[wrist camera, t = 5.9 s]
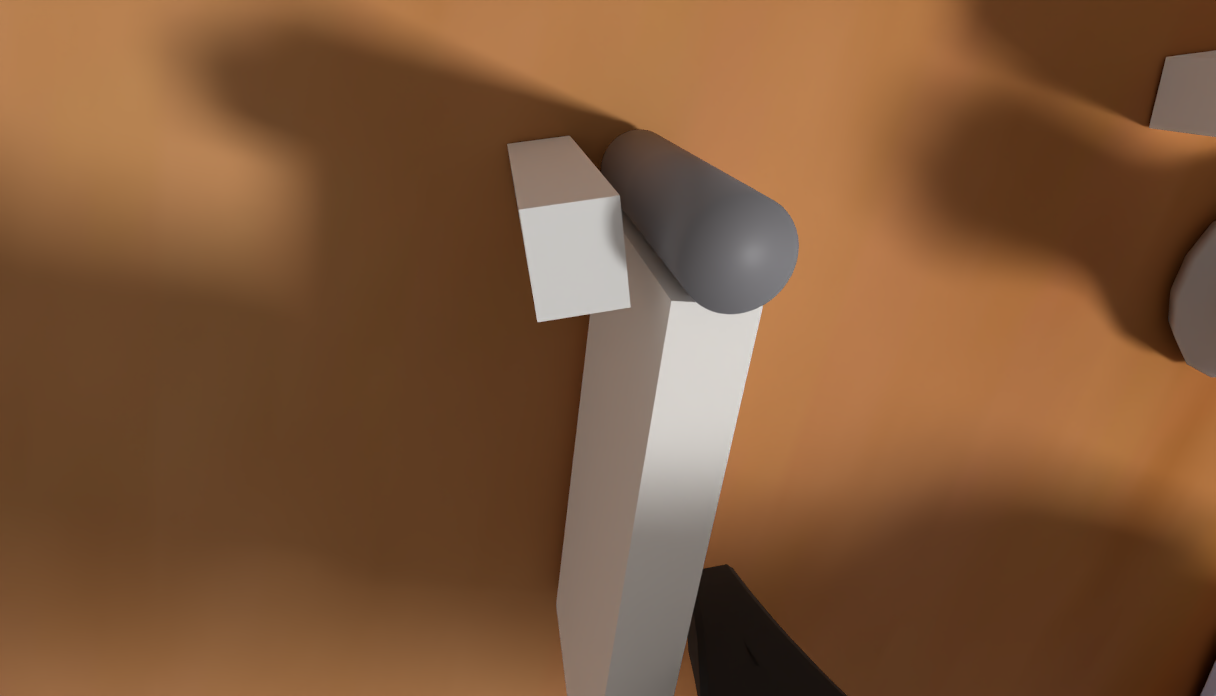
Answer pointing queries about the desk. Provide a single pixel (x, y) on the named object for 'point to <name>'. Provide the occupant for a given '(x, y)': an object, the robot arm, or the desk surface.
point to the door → (661, 411)
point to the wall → (592, 219)
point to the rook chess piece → (1196, 304)
